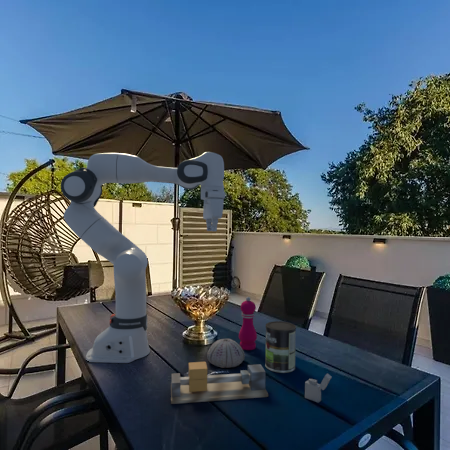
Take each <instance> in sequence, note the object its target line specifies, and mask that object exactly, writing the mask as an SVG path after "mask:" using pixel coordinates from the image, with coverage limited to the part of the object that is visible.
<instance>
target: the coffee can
mask: <svg viewBox="0 0 450 450" xmlns="http://www.w3.org/2000/svg"><path fill="white" fill-rule="evenodd" d="M296 330H297V325H295V324H294V323H291V322H287V321H282V320H281V321H280V320H279V321H278V320H276V321H269V322H266V324H265V362H264V363H265V365H264V366H265V368H266V369H267V370H269V371H271V372H275V373H278V374H279V373H280V374H286V373H292V372H293V371H295V370H296Z"/></svg>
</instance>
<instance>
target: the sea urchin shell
mask: <svg viewBox="0 0 450 450" xmlns="http://www.w3.org/2000/svg"><path fill="white" fill-rule="evenodd" d="M206 356H207V357H206V358H207V361H208V362H209V363H210V364H212V365H214V366H215V367H219V368H221V369H225V368H227V369H228V368H229V369H230V368H236V367H238V366H240V364H242V363H243V361H245V359H246V358H245V350H243V349H242V348H241V347H240V343H238V342H236V341H235V340H234V339H232V338H221V339H218V340H215V341H213V343H212V344H211V345H210V347H209V349H208V350H207V354H206Z"/></svg>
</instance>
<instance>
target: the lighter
mask: <svg viewBox="0 0 450 450" xmlns="http://www.w3.org/2000/svg"><path fill="white" fill-rule="evenodd" d="M331 379H332V376H331V374H329V373H326V374H325V375H324V377H323V379H322V380H321V382H320V383H318V379H313V378H309V379H308V380H306V381H305V382H304V398H305V399H307V400H310V401H312V402H314V403H315V402H316V403H317V404H318V403H320V402H321V401H322V391H324V390H326V388H327V386H328V384H329V383H330V381H331Z"/></svg>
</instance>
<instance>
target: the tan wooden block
mask: <svg viewBox="0 0 450 450" xmlns="http://www.w3.org/2000/svg"><path fill="white" fill-rule="evenodd" d="M207 376H208V365H207V362H206V361H195V362H188V377H189V392H195V391H207Z"/></svg>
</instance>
